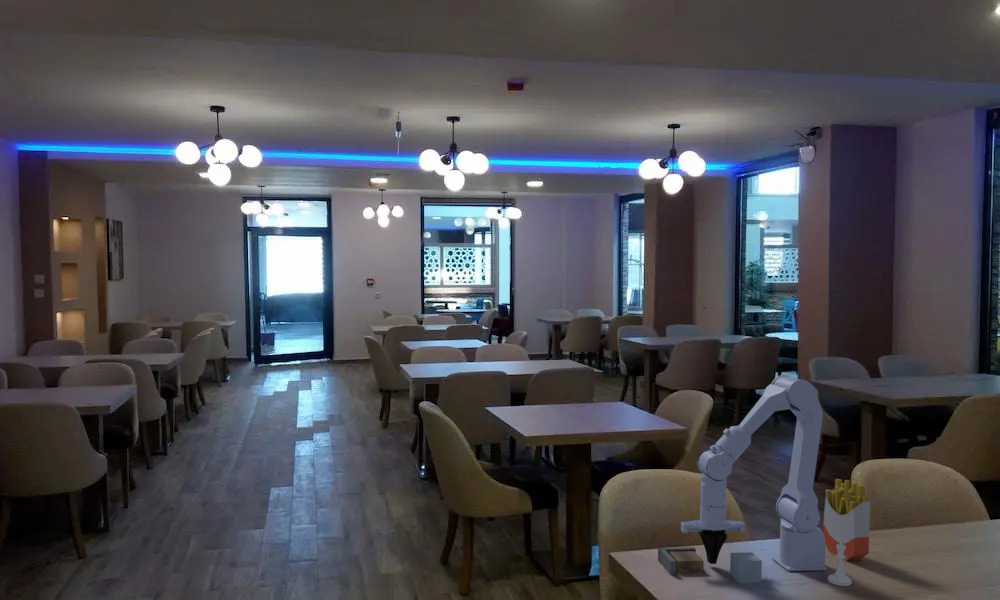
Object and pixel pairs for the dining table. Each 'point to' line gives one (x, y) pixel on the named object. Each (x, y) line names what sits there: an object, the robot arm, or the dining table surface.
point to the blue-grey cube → (745, 567)
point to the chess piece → (840, 567)
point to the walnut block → (687, 562)
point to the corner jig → (668, 560)
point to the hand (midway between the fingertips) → (711, 562)
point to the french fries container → (847, 519)
